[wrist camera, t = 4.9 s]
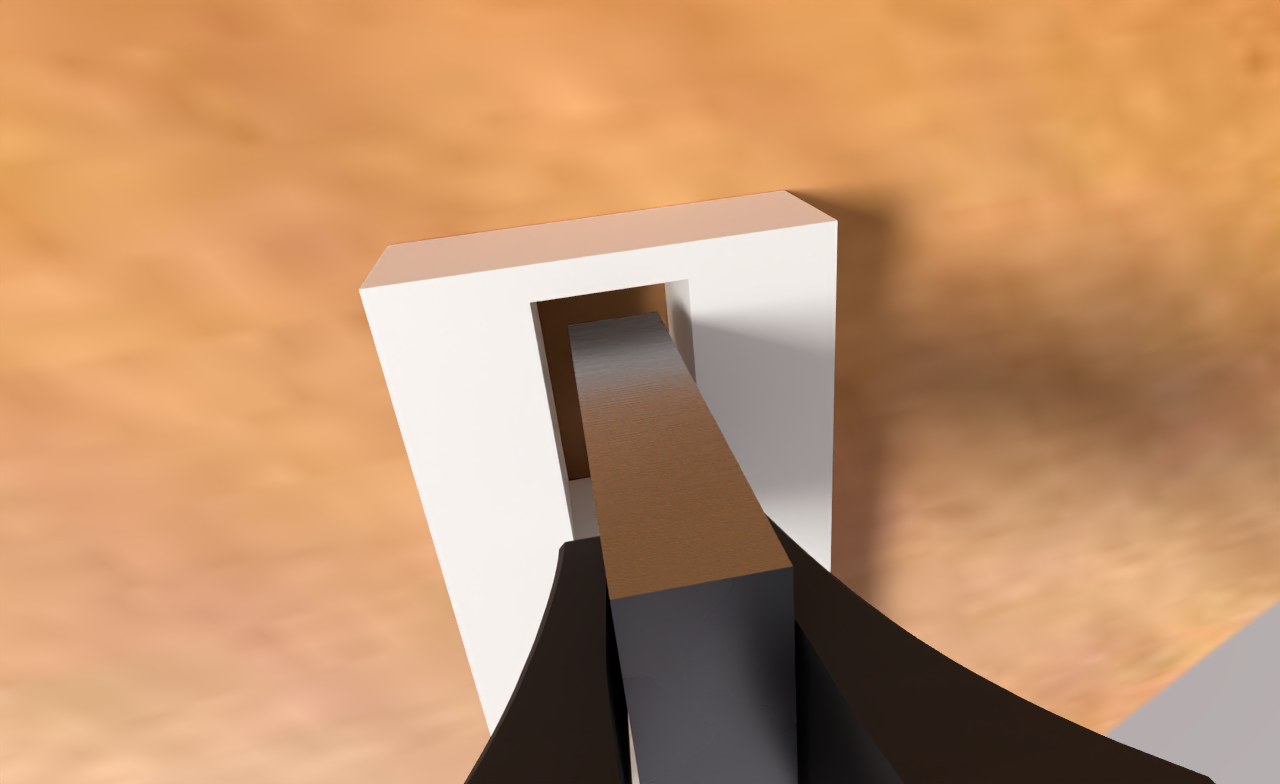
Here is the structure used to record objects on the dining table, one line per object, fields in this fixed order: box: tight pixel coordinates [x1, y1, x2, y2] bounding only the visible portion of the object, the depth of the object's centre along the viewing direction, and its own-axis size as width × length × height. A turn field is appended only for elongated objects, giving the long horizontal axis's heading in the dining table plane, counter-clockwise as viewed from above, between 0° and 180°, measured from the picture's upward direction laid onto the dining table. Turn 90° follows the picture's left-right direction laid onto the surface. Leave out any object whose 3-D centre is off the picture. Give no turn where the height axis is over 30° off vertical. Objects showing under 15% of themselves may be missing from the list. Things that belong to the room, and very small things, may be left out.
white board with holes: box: [359, 190, 838, 784], centre depth 20 cm, size 18×10×4 cm, turn 6°
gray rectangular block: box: [567, 312, 798, 784], centre depth 13 cm, size 5×2×9 cm, turn 6°
